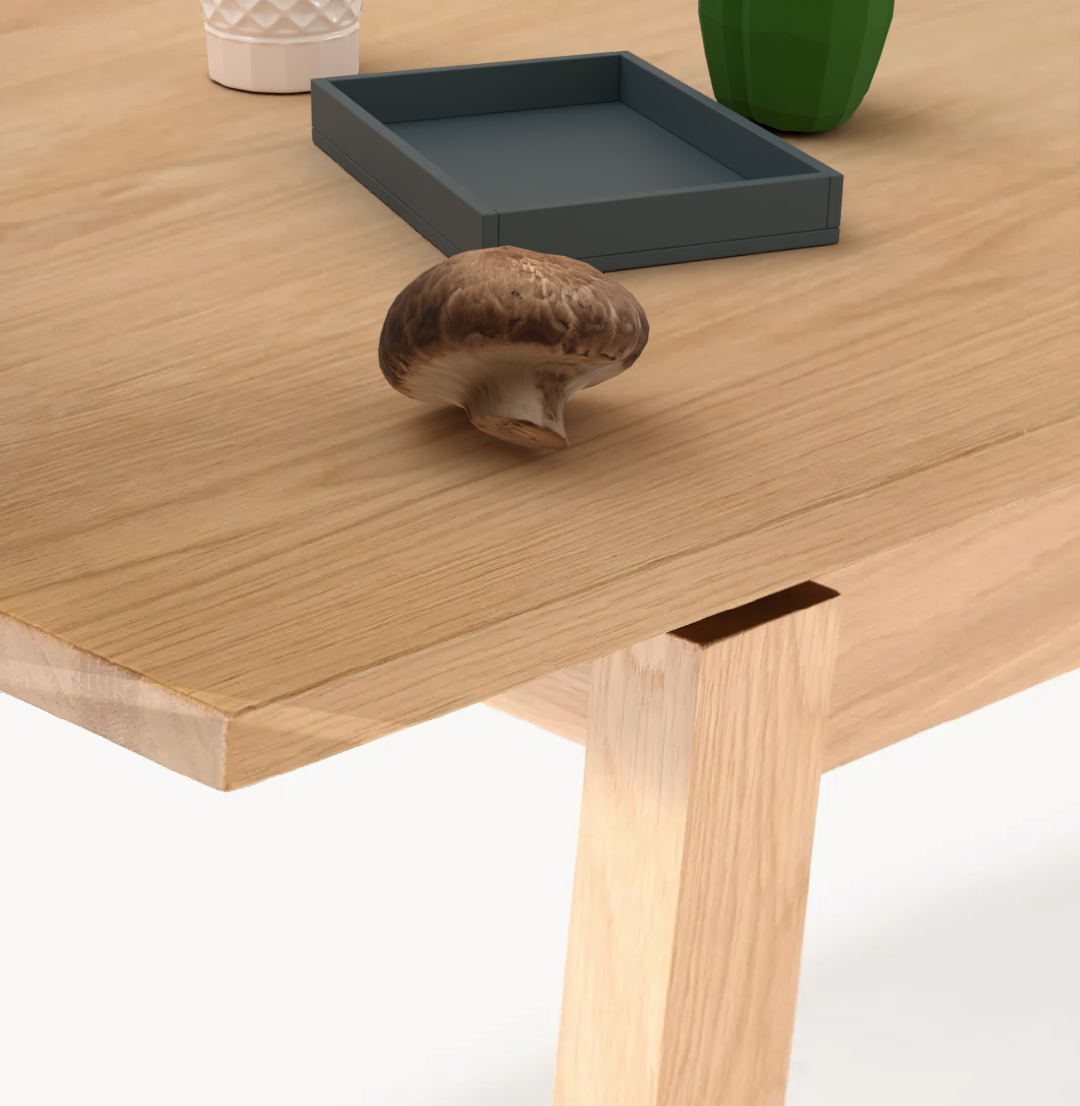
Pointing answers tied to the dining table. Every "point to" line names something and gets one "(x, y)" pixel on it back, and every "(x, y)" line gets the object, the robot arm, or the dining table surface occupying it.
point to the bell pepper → (793, 57)
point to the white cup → (280, 42)
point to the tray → (574, 161)
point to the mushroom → (510, 339)
